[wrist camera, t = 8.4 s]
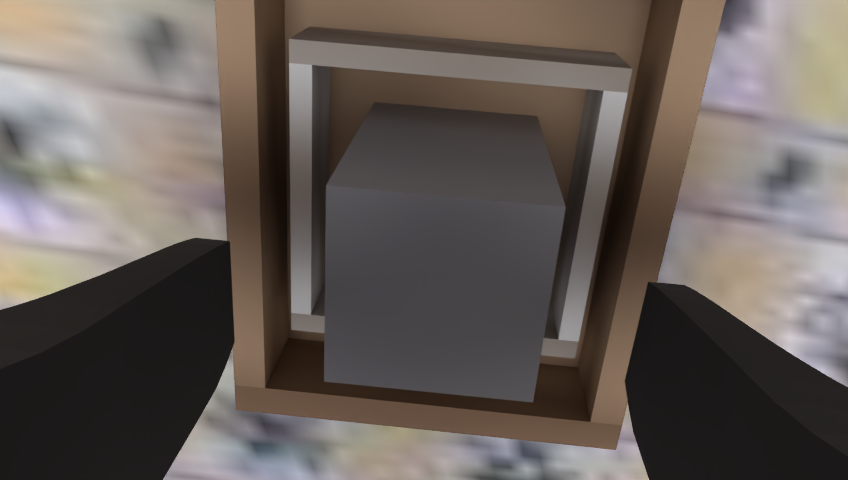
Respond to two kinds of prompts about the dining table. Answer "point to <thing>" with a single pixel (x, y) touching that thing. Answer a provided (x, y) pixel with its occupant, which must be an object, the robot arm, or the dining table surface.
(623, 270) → the box
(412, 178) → the grey rectangular block
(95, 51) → the dining table surface
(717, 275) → the dining table surface
